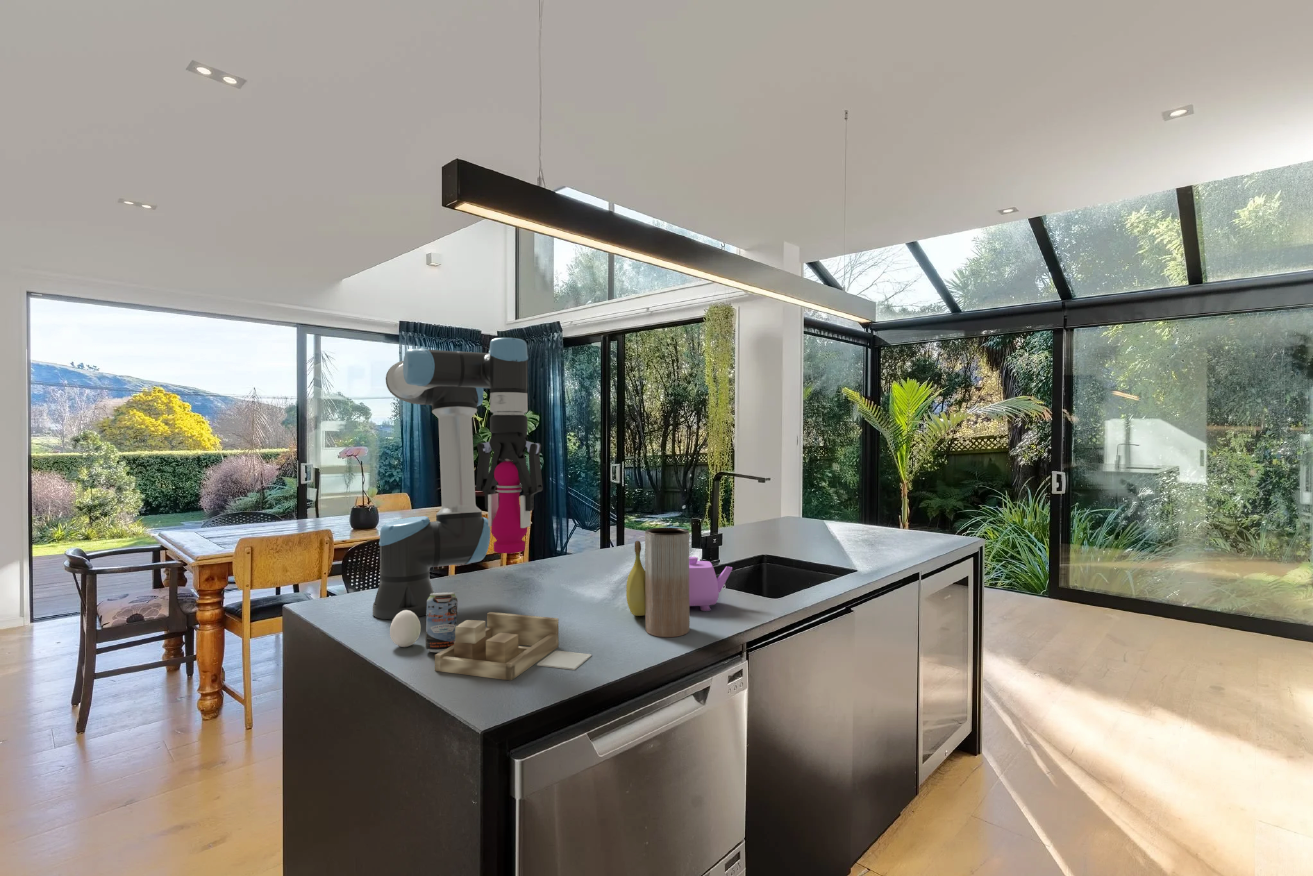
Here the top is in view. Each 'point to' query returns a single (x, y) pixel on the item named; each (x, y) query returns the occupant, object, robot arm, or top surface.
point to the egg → (405, 628)
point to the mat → (564, 660)
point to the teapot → (705, 583)
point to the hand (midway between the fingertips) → (509, 525)
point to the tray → (531, 633)
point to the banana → (636, 585)
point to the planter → (667, 582)
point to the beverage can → (441, 621)
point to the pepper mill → (508, 510)
